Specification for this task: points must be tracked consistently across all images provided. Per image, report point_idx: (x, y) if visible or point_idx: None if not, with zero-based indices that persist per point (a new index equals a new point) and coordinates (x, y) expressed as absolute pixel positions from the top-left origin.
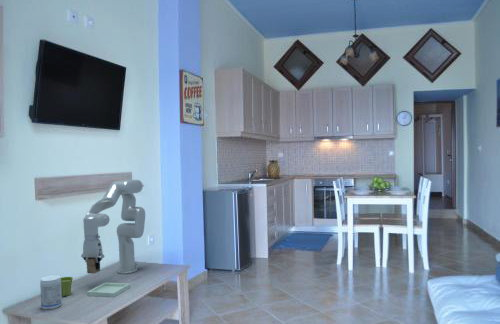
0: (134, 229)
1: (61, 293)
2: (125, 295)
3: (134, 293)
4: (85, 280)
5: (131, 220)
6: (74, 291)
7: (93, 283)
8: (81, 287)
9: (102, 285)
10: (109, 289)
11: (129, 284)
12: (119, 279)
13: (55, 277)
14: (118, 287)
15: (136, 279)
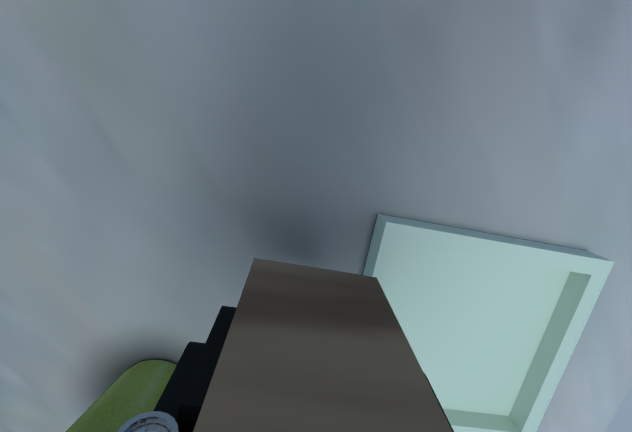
0: None
1: None
2: (575, 396)
3: (626, 365)
4: (87, 10)
5: None
6: (187, 327)
7: (235, 127)
8: (186, 237)
9: (386, 280)
10: (452, 318)
11: (607, 268)
12: (448, 2)
13: None
14: (509, 276)
15: (616, 18)
